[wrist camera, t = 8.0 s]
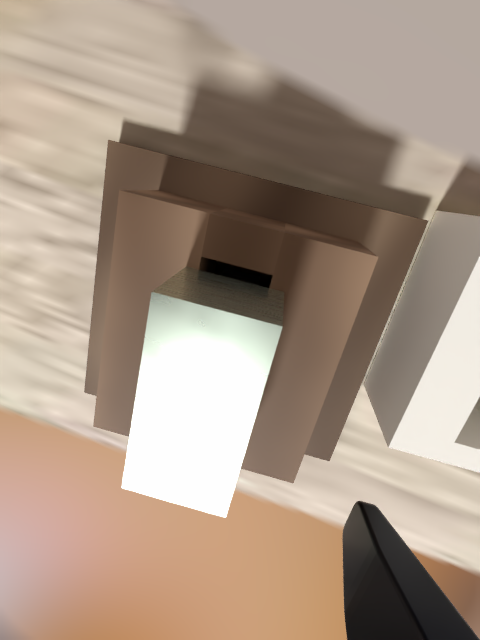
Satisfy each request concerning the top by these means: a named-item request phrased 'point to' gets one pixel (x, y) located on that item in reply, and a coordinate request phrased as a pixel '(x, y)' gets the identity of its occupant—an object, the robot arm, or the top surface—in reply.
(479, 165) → the top surface
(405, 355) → the holder
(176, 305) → the pale grey block
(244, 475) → the top surface
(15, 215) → the top surface
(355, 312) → the channel mount plate
